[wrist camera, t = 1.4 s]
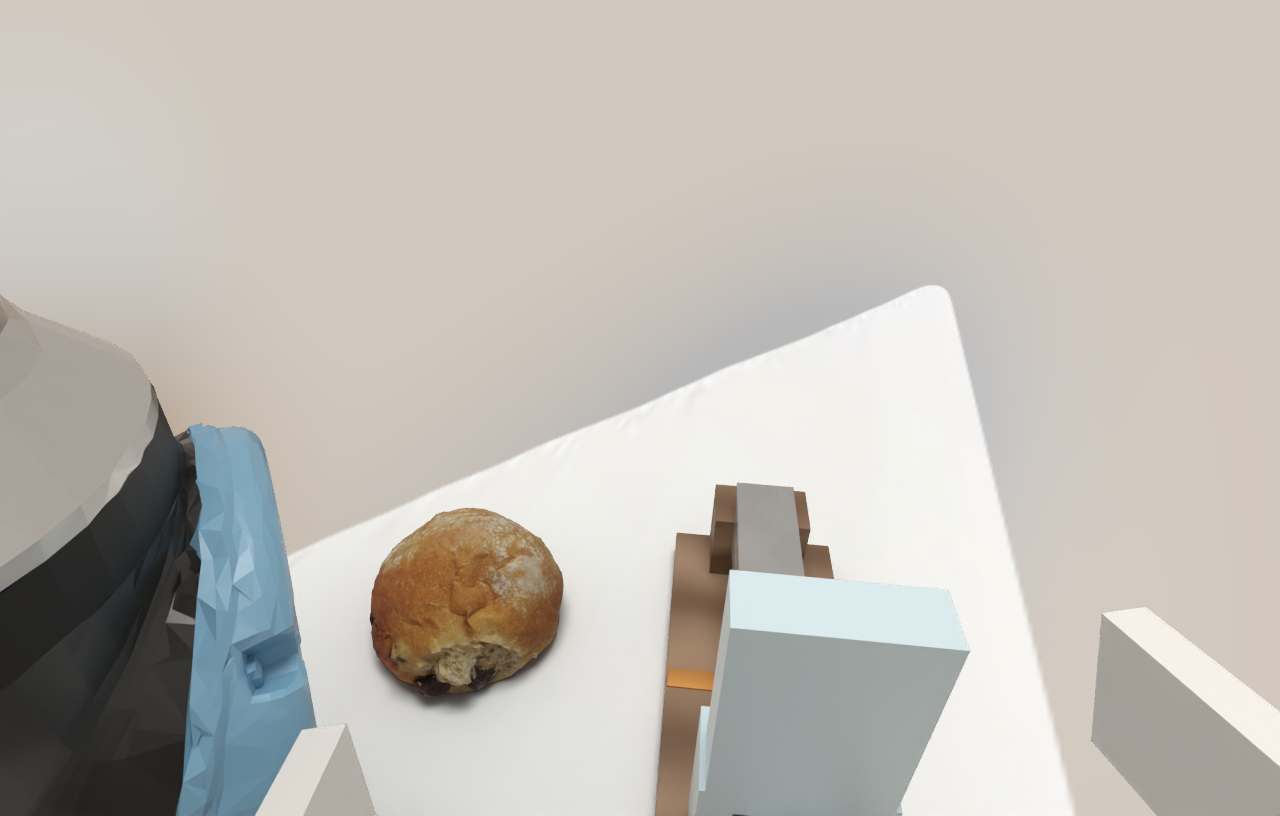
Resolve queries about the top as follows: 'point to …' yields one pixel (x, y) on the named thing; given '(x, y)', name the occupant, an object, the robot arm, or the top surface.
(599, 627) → the top surface
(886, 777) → the slotted grey-blue plate
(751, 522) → the grey square bar
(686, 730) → the base board
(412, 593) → the bread roll
